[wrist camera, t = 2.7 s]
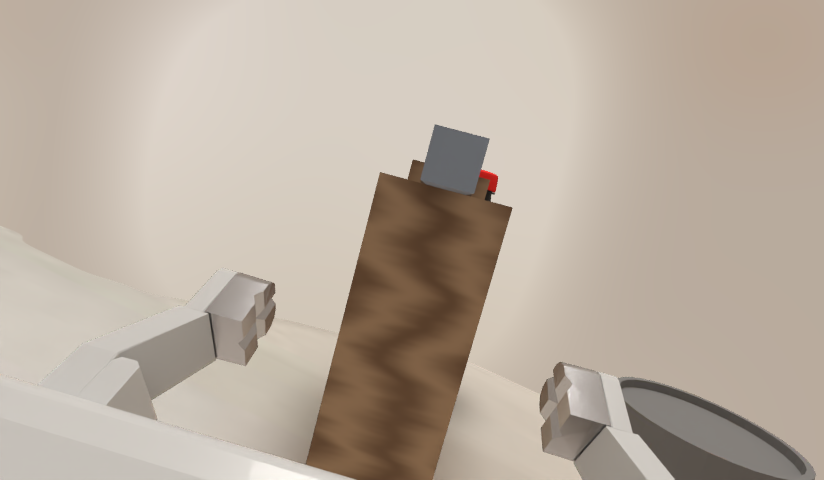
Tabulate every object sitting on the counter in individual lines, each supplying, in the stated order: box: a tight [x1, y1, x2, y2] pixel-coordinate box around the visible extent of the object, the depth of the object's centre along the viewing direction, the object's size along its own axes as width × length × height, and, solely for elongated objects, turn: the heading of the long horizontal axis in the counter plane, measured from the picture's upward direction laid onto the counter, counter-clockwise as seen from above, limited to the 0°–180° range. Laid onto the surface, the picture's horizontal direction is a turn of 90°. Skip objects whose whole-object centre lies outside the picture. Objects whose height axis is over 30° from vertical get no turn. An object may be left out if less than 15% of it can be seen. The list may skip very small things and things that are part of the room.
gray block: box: [420, 125, 489, 195], centre depth 32 cm, size 3×20×3 cm, turn 176°
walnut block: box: [306, 160, 512, 480], centre depth 40 cm, size 10×16×28 cm, turn 176°
